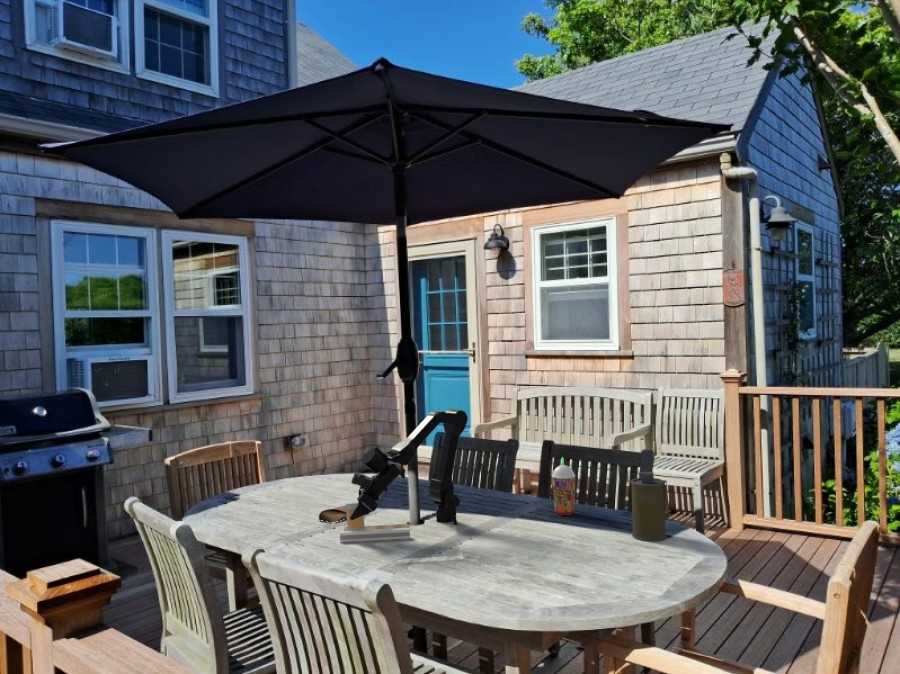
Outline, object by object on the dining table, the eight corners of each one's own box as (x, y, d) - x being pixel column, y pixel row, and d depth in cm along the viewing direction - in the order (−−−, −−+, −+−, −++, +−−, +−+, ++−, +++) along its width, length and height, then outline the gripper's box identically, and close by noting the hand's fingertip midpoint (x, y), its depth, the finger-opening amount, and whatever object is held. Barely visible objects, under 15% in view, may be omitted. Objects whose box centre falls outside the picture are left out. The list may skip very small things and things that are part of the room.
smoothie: (550, 515, 255) (548, 459, 255) (556, 509, 263) (554, 454, 263) (573, 517, 252) (571, 460, 252) (578, 511, 260) (576, 455, 260)
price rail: (409, 537, 233) (409, 527, 232) (409, 538, 231) (409, 529, 231) (340, 540, 231) (340, 531, 231) (340, 542, 230) (339, 533, 229)
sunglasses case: (333, 524, 255) (326, 506, 257) (323, 531, 259) (316, 514, 261) (371, 513, 268) (364, 496, 271) (361, 520, 272) (354, 503, 275)
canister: (630, 540, 224) (628, 475, 224) (634, 530, 234) (632, 468, 233) (666, 542, 220) (664, 477, 220) (669, 533, 230) (667, 470, 229)
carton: (364, 532, 240) (363, 499, 239) (364, 536, 235) (363, 502, 235) (347, 533, 239) (346, 500, 239) (347, 538, 234) (346, 504, 234)
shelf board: (409, 526, 248) (409, 523, 248) (410, 542, 230) (409, 539, 230) (345, 530, 247) (344, 527, 247) (340, 546, 229) (340, 543, 229)
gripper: (365, 458, 246) (333, 492, 245) (365, 469, 227) (331, 506, 226) (389, 480, 247) (358, 514, 246) (391, 492, 229) (357, 529, 227)
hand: (350, 515), depth 236 cm, fingers open, 9 cm apart
